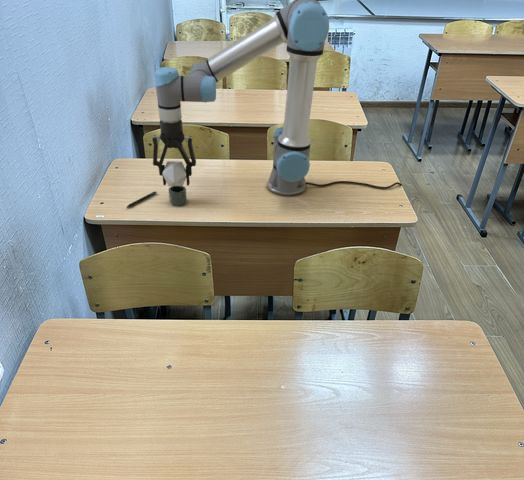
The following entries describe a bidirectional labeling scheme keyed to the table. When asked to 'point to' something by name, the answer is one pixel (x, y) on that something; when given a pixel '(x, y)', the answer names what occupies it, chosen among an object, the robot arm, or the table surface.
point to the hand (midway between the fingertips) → (176, 183)
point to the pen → (141, 199)
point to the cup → (177, 195)
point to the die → (174, 173)
